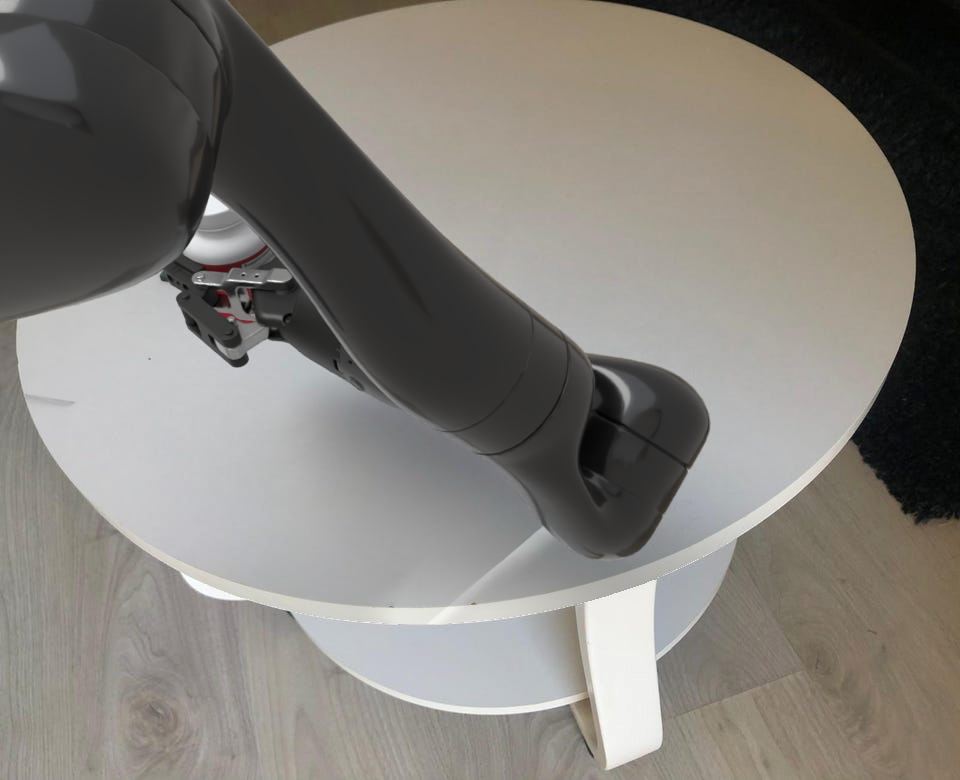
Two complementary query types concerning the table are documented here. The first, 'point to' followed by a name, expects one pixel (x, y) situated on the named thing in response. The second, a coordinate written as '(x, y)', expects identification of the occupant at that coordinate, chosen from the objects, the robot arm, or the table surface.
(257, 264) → the pill bottle
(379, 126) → the table surface
